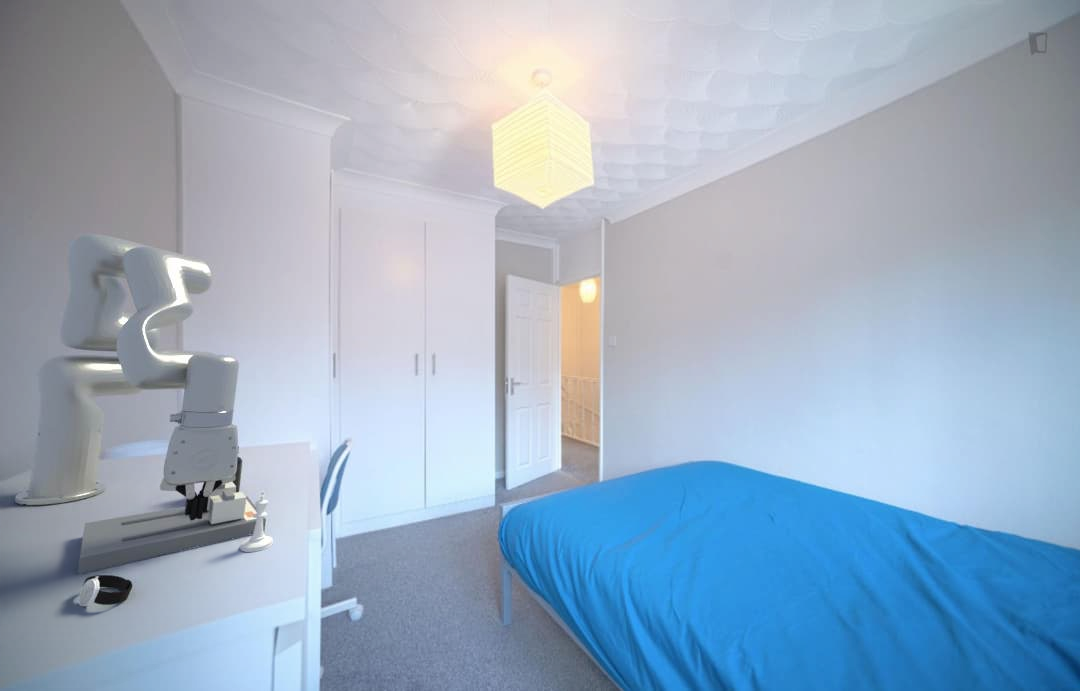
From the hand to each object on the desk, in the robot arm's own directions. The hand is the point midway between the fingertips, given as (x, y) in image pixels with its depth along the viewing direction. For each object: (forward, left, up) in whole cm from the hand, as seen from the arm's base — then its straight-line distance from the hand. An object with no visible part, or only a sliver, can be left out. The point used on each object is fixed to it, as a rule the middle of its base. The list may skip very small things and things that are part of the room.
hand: (195, 517), depth 72 cm
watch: (+14, -11, -4) cm, 18 cm away
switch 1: (-8, +4, -1) cm, 9 cm away
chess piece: (+9, +8, -4) cm, 13 cm away
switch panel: (-4, -2, -4) cm, 6 cm away
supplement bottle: (-22, +7, -4) cm, 24 cm away
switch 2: (0, +5, -1) cm, 5 cm away
